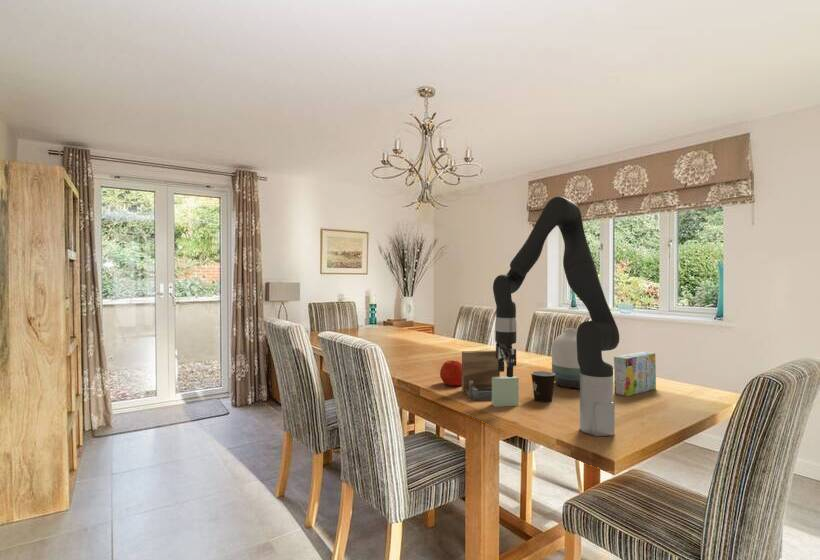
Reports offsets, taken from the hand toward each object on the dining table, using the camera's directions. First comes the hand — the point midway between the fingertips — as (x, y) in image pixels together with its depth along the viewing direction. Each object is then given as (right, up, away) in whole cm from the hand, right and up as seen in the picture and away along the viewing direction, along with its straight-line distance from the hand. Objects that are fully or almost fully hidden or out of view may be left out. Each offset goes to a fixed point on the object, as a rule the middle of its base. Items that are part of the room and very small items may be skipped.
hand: (505, 374), depth 160 cm
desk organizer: (-5, -11, +13) cm, 18 cm away
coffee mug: (+16, -11, +7) cm, 21 cm away
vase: (+35, -11, +28) cm, 46 cm away
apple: (-16, -11, +29) cm, 35 cm away
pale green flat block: (0, -11, 0) cm, 11 cm away
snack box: (+57, -11, +18) cm, 60 cm away
